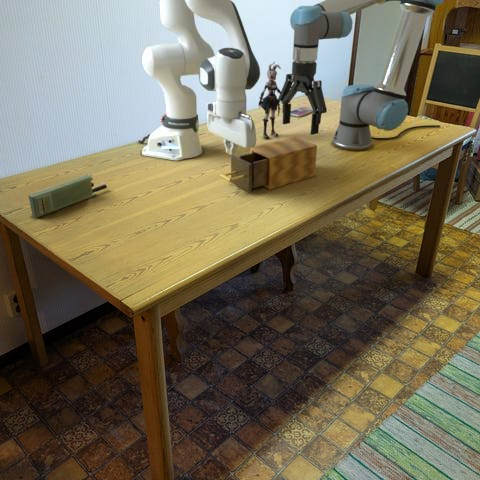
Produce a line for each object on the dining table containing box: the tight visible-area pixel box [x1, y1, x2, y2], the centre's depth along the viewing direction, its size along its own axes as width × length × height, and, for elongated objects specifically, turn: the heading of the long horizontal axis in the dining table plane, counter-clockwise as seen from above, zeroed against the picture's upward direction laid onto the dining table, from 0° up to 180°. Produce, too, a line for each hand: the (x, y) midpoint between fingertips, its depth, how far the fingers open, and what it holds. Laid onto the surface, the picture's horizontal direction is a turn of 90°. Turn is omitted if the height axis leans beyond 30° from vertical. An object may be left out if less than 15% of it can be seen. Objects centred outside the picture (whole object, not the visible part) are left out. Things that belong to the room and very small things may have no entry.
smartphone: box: [290, 106, 314, 118], centre depth 240 cm, size 7×1×15 cm
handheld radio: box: [28, 173, 108, 219], centre depth 150 cm, size 7×3×25 cm
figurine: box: [258, 61, 282, 140], centre depth 201 cm, size 15×6×30 cm, turn 132°
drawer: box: [219, 152, 269, 193], centre depth 162 cm, size 24×9×9 cm, turn 127°
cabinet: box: [249, 136, 318, 190], centre depth 168 cm, size 20×11×11 cm, turn 127°
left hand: (231, 154), depth 153 cm, fingers closed
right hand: (299, 128), depth 167 cm, fingers open, 13 cm apart
